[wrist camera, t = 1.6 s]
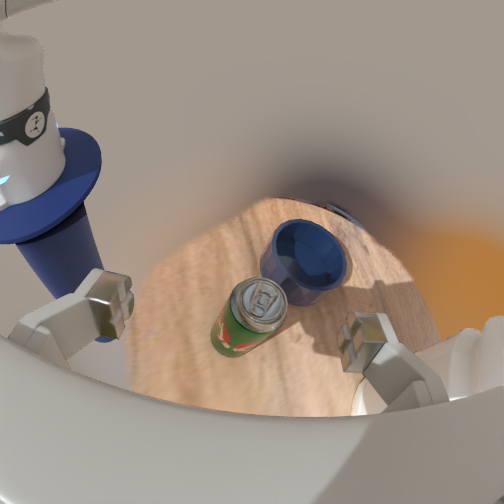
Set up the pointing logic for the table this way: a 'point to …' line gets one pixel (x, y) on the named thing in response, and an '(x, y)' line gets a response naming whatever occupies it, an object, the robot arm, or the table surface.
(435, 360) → the bottle
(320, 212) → the table surface
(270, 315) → the soda can
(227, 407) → the table surface
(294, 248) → the bowl
